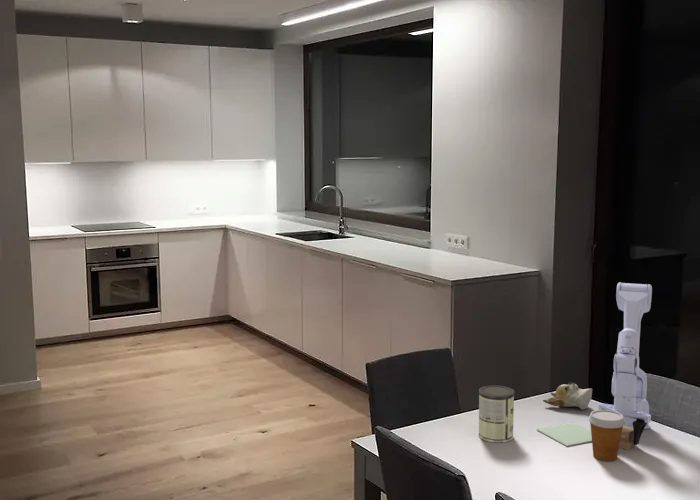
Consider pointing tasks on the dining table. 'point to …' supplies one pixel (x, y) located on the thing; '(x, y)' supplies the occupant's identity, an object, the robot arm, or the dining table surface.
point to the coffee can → (496, 413)
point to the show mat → (568, 434)
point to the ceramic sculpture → (570, 396)
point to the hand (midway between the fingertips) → (623, 440)
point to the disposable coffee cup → (606, 433)
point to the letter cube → (627, 438)
